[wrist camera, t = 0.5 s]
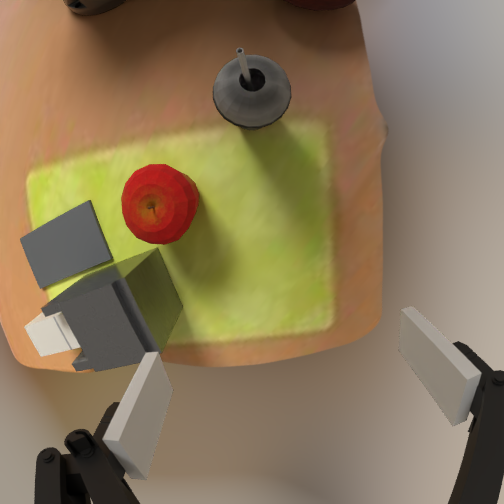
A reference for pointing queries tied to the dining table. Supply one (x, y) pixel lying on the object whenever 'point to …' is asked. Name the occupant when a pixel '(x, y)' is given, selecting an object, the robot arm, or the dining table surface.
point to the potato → (320, 4)
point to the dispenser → (120, 312)
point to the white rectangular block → (51, 334)
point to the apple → (159, 203)
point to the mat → (66, 245)
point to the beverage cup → (251, 91)
